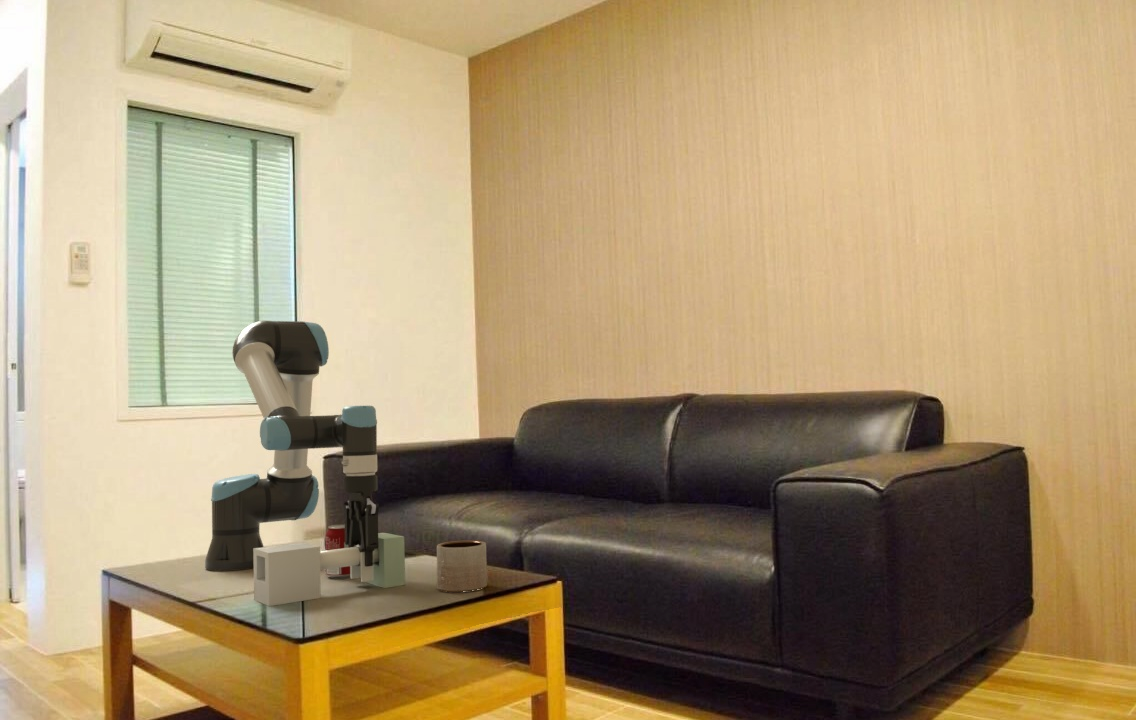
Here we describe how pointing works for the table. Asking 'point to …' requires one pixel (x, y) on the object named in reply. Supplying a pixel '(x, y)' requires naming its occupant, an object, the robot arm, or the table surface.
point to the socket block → (389, 561)
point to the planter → (461, 566)
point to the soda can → (336, 541)
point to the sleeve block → (286, 573)
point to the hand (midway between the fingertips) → (361, 579)
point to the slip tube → (343, 557)
